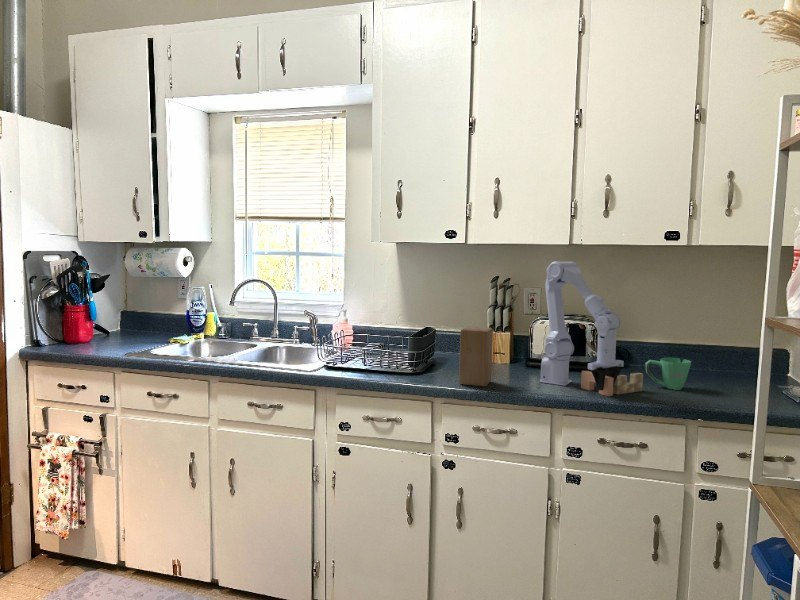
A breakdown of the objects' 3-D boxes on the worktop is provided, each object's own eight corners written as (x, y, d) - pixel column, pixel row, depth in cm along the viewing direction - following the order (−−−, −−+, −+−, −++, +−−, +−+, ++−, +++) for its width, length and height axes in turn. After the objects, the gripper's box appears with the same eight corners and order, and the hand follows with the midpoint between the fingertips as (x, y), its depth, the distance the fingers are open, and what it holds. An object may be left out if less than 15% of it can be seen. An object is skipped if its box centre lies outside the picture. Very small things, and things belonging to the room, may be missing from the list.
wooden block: (458, 384, 200) (459, 329, 198) (465, 378, 210) (466, 325, 208) (486, 387, 197) (487, 330, 195) (491, 381, 206) (493, 327, 204)
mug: (686, 386, 203) (688, 358, 202) (691, 392, 194) (693, 364, 193) (642, 382, 208) (644, 355, 207) (645, 388, 198) (647, 360, 197)
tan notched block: (617, 394, 190) (618, 376, 190) (613, 393, 192) (613, 375, 191) (642, 390, 196) (643, 373, 195) (637, 389, 197) (638, 372, 197)
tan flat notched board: (612, 395, 189) (613, 377, 188) (607, 396, 188) (608, 378, 187) (586, 387, 200) (586, 370, 199) (580, 387, 198) (581, 371, 198)
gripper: (599, 352, 182) (598, 394, 183) (631, 349, 189) (629, 389, 190) (583, 349, 188) (582, 389, 190) (615, 346, 195) (613, 385, 196)
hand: (605, 389), depth 190 cm, fingers open, 4 cm apart
